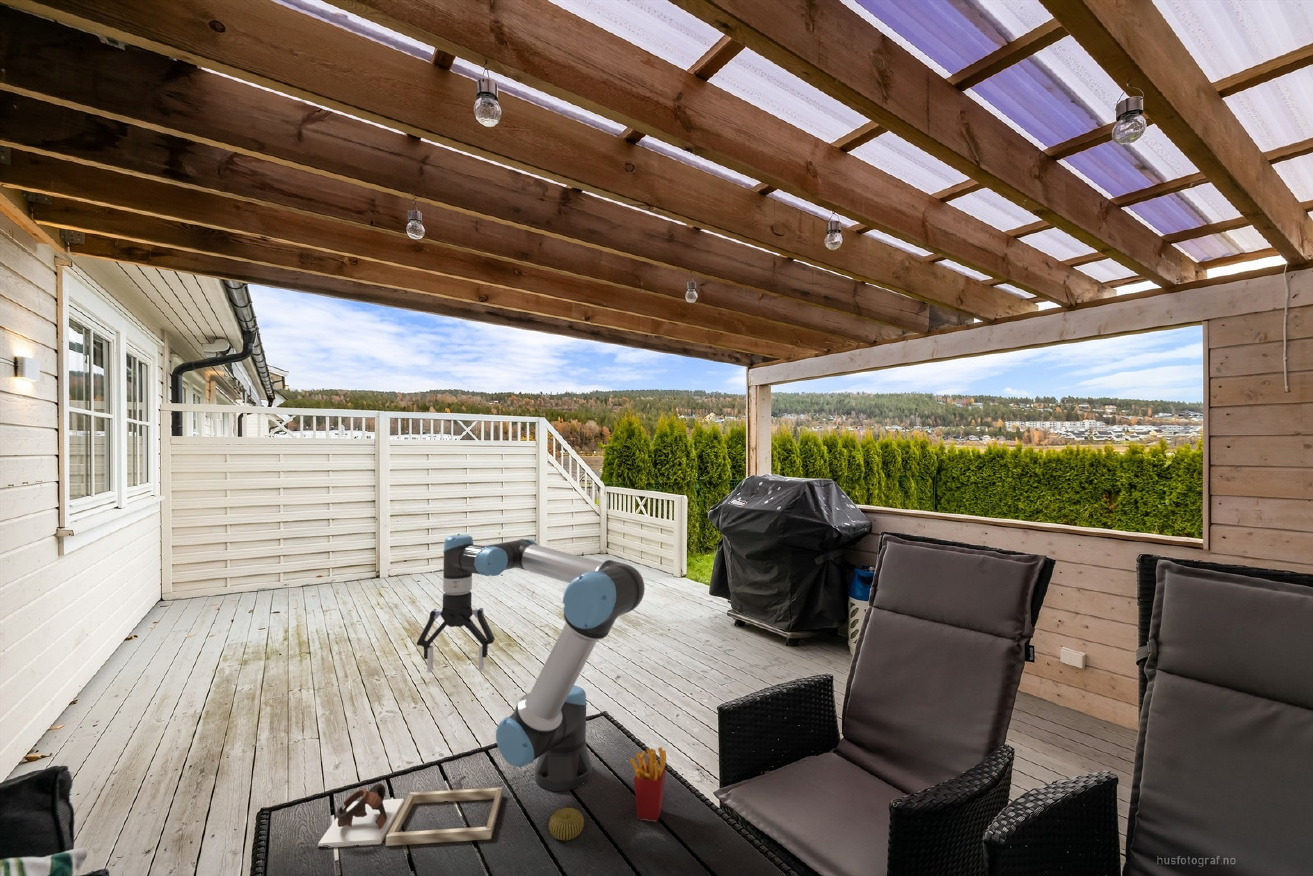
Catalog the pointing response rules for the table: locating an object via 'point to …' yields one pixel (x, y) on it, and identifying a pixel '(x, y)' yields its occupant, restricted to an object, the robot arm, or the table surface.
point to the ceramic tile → (362, 827)
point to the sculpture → (566, 823)
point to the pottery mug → (363, 806)
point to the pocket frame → (445, 834)
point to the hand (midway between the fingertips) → (455, 670)
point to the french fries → (649, 784)
